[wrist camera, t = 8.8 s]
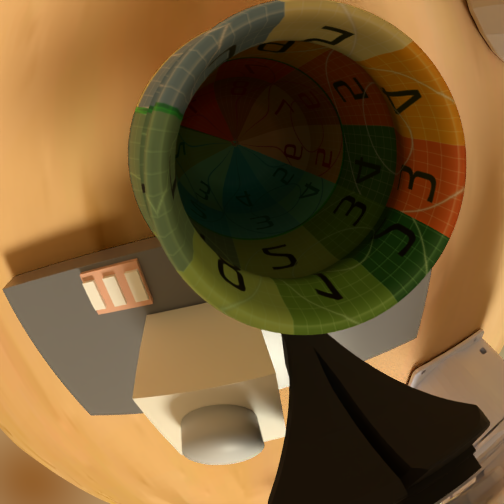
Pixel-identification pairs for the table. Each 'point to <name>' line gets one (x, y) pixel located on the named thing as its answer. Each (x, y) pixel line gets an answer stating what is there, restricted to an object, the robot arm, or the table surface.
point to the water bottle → (490, 22)
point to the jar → (299, 165)
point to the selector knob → (208, 385)
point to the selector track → (134, 316)
